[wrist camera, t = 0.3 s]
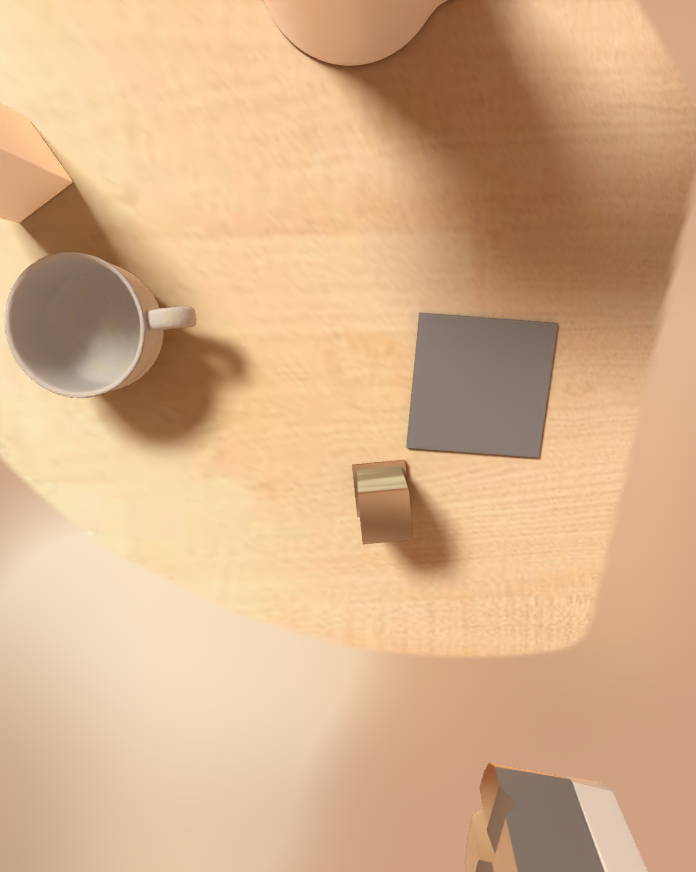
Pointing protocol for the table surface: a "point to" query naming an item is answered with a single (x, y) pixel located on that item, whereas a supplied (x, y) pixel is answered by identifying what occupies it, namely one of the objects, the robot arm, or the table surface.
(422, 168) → the table surface
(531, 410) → the mat
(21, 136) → the milk
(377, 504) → the banded square pillar
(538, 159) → the table surface
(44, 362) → the teacup
